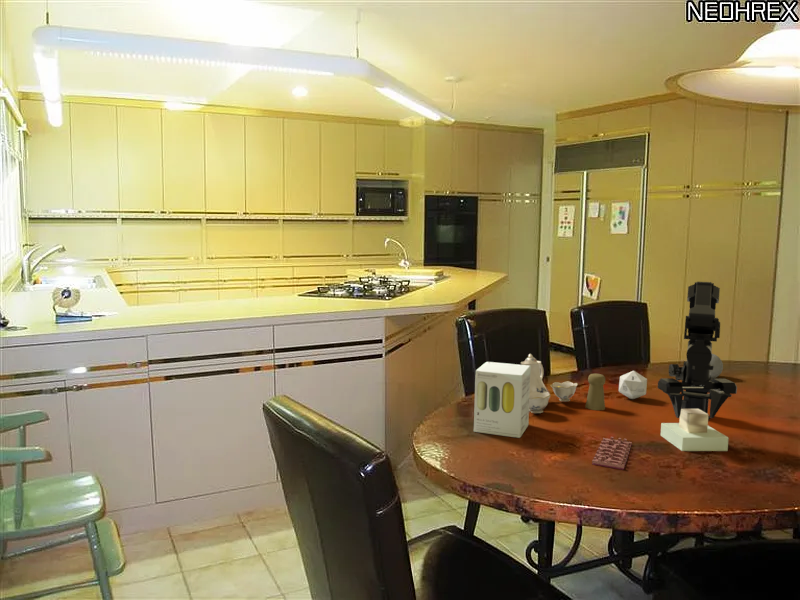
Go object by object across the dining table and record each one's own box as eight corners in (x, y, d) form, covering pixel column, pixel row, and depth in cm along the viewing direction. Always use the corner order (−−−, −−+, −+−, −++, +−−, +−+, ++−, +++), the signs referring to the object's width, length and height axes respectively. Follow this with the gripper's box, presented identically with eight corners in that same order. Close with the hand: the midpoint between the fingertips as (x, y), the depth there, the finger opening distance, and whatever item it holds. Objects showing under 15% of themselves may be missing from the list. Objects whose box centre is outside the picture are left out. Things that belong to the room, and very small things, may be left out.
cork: (606, 411, 194) (608, 376, 193) (586, 410, 195) (587, 375, 194) (604, 406, 200) (605, 372, 199) (584, 404, 201) (586, 371, 200)
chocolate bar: (631, 446, 165) (632, 438, 165) (623, 470, 148) (623, 462, 148) (603, 441, 168) (603, 434, 168) (592, 465, 151) (592, 457, 151)
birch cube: (696, 426, 169) (698, 408, 169) (707, 432, 164) (708, 414, 164) (679, 426, 169) (680, 408, 168) (688, 432, 164) (689, 414, 163)
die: (617, 401, 206) (619, 372, 205) (619, 395, 214) (620, 366, 213) (645, 404, 203) (647, 374, 201) (645, 398, 211) (647, 369, 210)
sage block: (703, 437, 173) (703, 423, 172) (727, 452, 161) (728, 437, 160) (660, 437, 172) (661, 423, 172) (681, 452, 160) (682, 437, 160)
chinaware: (546, 422, 183) (548, 366, 181) (495, 411, 193) (497, 358, 191) (582, 402, 205) (584, 352, 203) (534, 393, 215) (536, 345, 213)
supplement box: (472, 432, 173) (474, 370, 171) (484, 418, 185) (485, 360, 183) (520, 438, 168) (522, 374, 166) (529, 424, 180) (531, 365, 178)
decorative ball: (699, 374, 247) (701, 349, 246) (726, 379, 240) (728, 353, 238) (688, 378, 240) (690, 352, 239) (715, 383, 233) (717, 356, 232)
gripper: (716, 353, 172) (712, 409, 174) (650, 353, 172) (646, 408, 173) (740, 362, 161) (735, 421, 163) (669, 362, 160) (665, 421, 162)
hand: (694, 417), depth 166 cm, fingers open, 9 cm apart
